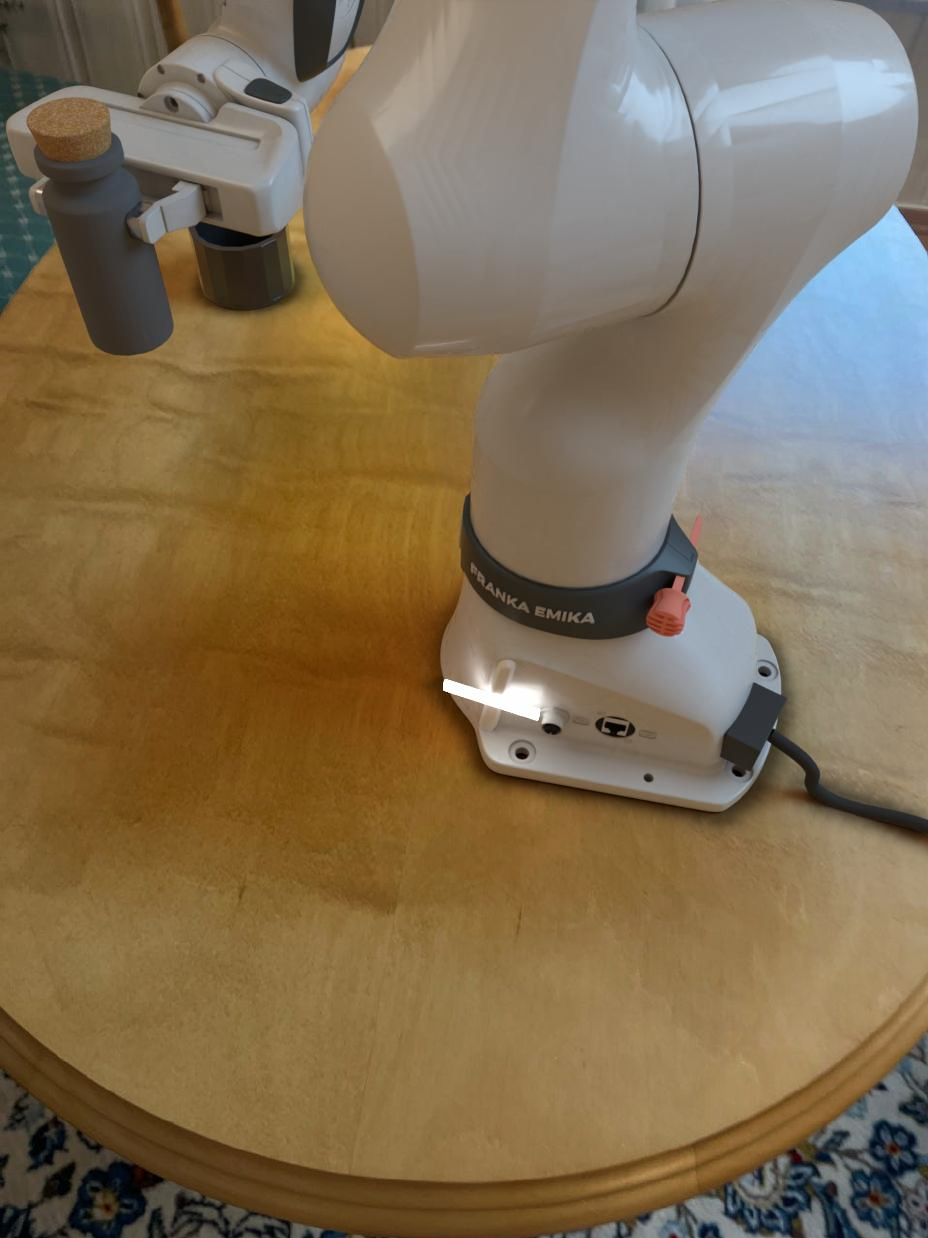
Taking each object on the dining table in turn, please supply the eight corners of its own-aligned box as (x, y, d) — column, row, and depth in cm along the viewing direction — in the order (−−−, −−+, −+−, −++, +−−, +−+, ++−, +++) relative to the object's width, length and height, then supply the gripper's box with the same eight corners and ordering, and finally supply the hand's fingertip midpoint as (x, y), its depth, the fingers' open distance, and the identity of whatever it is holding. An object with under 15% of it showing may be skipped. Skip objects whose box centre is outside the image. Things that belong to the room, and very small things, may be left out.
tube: (310, 269, 93) (303, 209, 88) (266, 319, 88) (256, 259, 83) (231, 248, 95) (220, 189, 90) (184, 296, 90) (169, 236, 85)
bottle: (155, 362, 67) (93, 145, 55) (75, 350, 67) (-4, 133, 55) (187, 311, 70) (135, 97, 58) (110, 300, 71) (43, 86, 59)
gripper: (67, 44, 68) (-67, 133, 61) (328, 102, 64) (220, 206, 56) (92, 134, 73) (-28, 227, 66) (336, 193, 69) (238, 300, 61)
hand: (89, 218), depth 61 cm, fingers closed on bottle, 6 cm apart
